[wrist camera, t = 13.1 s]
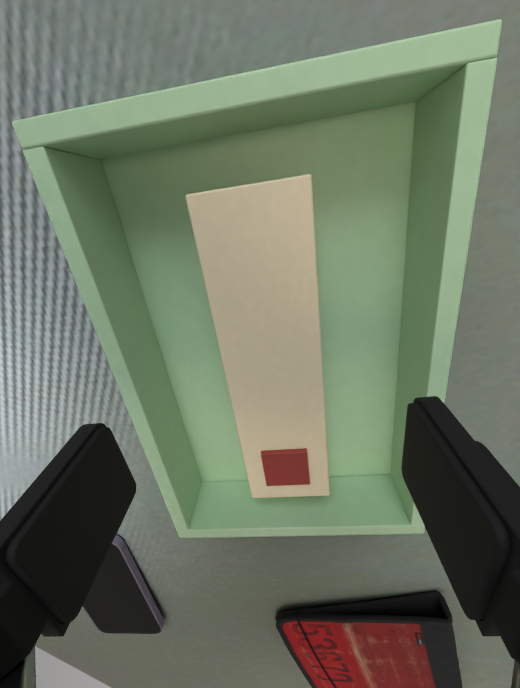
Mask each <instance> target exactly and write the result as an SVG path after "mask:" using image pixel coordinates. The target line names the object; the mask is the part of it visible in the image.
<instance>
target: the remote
mask: <svg viewBox="0 0 520 688" xmlns="http://www.w3.org/2000/svg"><path fill="white" fill-rule="evenodd" d="M185 198H186V202H187V207H188V211H189V216H190V220H191V225H192V229H193V234H194V238H195V243H196V247H197V252H198V256H199V261H200V265H201V270H202V274H203V279H204V283H205V288H206V292H207V297H208V301H209V306H210V310H211V315H212V319H213V324H214V328H215V333H216V337H217V342H218V346H219V351H220V356H221V360H222V365H223V369H224V374H225V378H226V383H227V387H228V392H229V396H230V401H231V405H232V410H233V414H234V419H235V423H236V428H237V432H238V437H239V441H240V446H241V450H242V455H243V459H244V464H245V468H246V473H247V477H248V482H249V486H250V491H251V495H252V498H272V497H301V496H329V495H330V486H329V468H328V451H327V434H326V416H325V399H324V381H323V364H322V347H321V329H320V312H319V294H318V277H317V260H316V242H315V225H314V207H313V190H312V176H311V175H310V174H307V175H301V176H295V177H289V178H283V179H277V180H271V181H264V182H258V183H252V184H246V185H240V186H234V187H228V188H222V189H216V190H210V191H204V192H198V193H192V194H187V195H186V197H185Z"/></svg>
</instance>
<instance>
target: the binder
mask: <svg viewBox="0 0 520 688" xmlns="http://www.w3.org/2000/svg"><path fill="white" fill-rule="evenodd" d="M276 621H277V622H276V626H277V629H278V631H279V633H280V635H281V637H282V639H283V641H284V643H285V645H286V647H287V648H288V650H289V652H290V654H291V655H292V657H293V659H294V660H295V662H296V663H297V665H298V666H299V668H300V670H301V671H302V673H303V674H304V676H305V677H306V679H307V680H308V682H309V684H310V685H311V686H312V688H462V681H461V675H460V669H459V662H458V657H457V652H456V643H455V637H454V631H453V626H452V621H453V620H452V615H451V612H450V610H449V608H448V606H447V603H446V601H445V599H444V597H443V596H442V594H441V593H440V592H438V591H433V592H425V593H419V594H414V595H409V596H403V597H396V598H388V599H380V600H374V601H365V602H357V603H350V604H342V605H334V606H326V607H318V608H303V609H300V608H297V609H296V610H290V611H283V612H280V613H278V614H277V615H276Z"/></svg>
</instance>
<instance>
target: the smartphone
mask: <svg viewBox="0 0 520 688" xmlns="http://www.w3.org/2000/svg"><path fill="white" fill-rule="evenodd" d="M82 606H83V607H84V609H85V610H86V612H87V613H88V615H89V616H90V618H91V619H92V621H93V622H94V624H95V625H96V627H97V628H98V629H99V630H100V631H102V632H105V633H112V634H158V633H160V632H161V631H162V628H163V625H164V619H163V617H162V615H161V613H160V611H159V609H158V608H157V606H156V604H155V602H154V600H153V598H152V596H151V594H150V592H149V590H148V588H147V586H146V584H145V582H144V580H143V578H142V576H141V574H140V572H139V570H138V568H137V566H136V564H135V562H134V560H133V558H132V556H131V554H130V552H129V550H128V548H127V546H126V544H125V542H124V540H123V539H122V538H121V537H119V536H118V535H116V536H115V538H114V540H113V542H112V544H111V546H110V548H109V550H108V553H107V555H106V557H105V559H104V561H103V563H102V565H101V567H100V569H99V572H98V574H97V576H96V578H95V580H94V582H93V584H92V586H91V588H90V591H89V593H88V595H87V597H86V599H85V601H84V603H83V605H82Z"/></svg>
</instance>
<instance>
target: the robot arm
mask: <svg viewBox="0 0 520 688" xmlns="http://www.w3.org/2000/svg"><path fill="white" fill-rule="evenodd" d="M401 470H402V476H403V479H404V482H405V484H406V486H407V488H408V490H409V493H410V495H411V497H412V499H413V501H414V504H415V506H416V508H417V510H418V512H419V515H420V517H421V519H422V521H423V523H424V526H425V528H426V530H427V532H428V534H429V537H430V539H431V541H432V543H433V545H434V548H435V550H436V552H437V554H438V556H439V559H440V561H441V563H442V565H443V567H444V570H445V572H446V574H447V576H448V578H449V581H450V583H451V585H452V587H453V589H454V592H455V594H456V596H457V598H458V600H459V603H460V605H461V607H462V609H463V611H464V613H465V614H466V616H467V617H468V618H469V619H471V620H475V621H476V623H477V625H478V627H479V629H480V631H481V633H482V635H483V636H501V638H502V640H503V642H504V644H505V646H506V648H507V650H508V652H509V654H510V656H511V657H512V658H513V659H515V663H514V670H513V678H512V686H511V688H520V487H519V486H518V485H517V483H516V482H515V481H514V480H513V479H512V478H511V476H510V475H509V474H508V473H507V472H506V470H505V469H504V468H503V467H502V466H501V464H500V463H499V462H498V461H497V460H496V459H495V457H494V456H493V455H492V454H491V453H490V451H489V450H488V449H487V448H486V447H485V446H484V445H483V444H482V443H480V442H478V441H474V440H473V438H472V437H471V436H470V435H469V434H468V432H467V431H466V430H465V429H464V427H463V426H462V425H461V424H460V423H459V421H458V420H457V419H456V418H455V416H454V415H453V414H452V413H451V412H450V410H449V409H448V408H447V407H446V405H445V404H444V403H443V402H442V401H441V399H440V398H439V397H437V396H430V397H418V398H415V399H414V401H413V403H409V404H408V406H407V415H406V425H405V436H404V446H403V456H402V466H401ZM135 493H136V483H135V480H134V478H133V476H132V474H131V472H130V470H129V468H128V465H127V463H126V461H125V459H124V457H123V455H122V453H121V451H120V448H119V446H118V444H117V442H116V440H115V438H114V436H113V434H112V431H111V430H110V428H108V427H106V426H105V425H104V424H103V423H97V424H85V425H82V426H81V427H80V428H79V429H78V430H77V431H76V433H75V434H74V435H73V436H72V437H71V439H70V440H69V441H68V442H67V443H66V444H65V446H64V447H63V448H62V449H61V450H60V451H59V453H58V454H57V455H56V456H55V457H54V459H53V460H52V461H51V462H50V463H49V464H48V466H47V467H46V468H45V469H44V470H43V471H42V473H41V474H40V475H39V476H38V477H37V479H36V480H35V481H34V482H33V483H32V484H31V486H30V487H29V488H28V489H27V490H26V491H25V493H24V494H23V495H22V496H21V497H20V499H19V500H18V501H17V502H16V503H15V504H14V506H13V507H12V508H11V509H10V510H9V511H8V513H7V514H6V515H5V516H4V517H3V518H2V520H1V521H0V688H36V674H35V673H36V670H35V644H36V642H37V640H38V638H39V636H40V634H42V635H43V636H64V634H65V632H66V630H67V628H68V626H69V624H70V622H71V621H73V620H74V619H75V618H76V617H77V615H78V613H79V612H80V610H81V607H82V605H83V603H84V601H85V599H86V597H87V595H88V593H89V591H90V588H91V586H92V584H93V582H94V580H95V578H96V576H97V574H98V572H99V569H100V567H101V565H102V563H103V561H104V559H105V557H106V555H107V553H108V550H109V548H110V546H111V544H112V542H113V540H114V538H115V536H116V533H117V531H118V529H119V527H120V525H121V523H122V521H123V519H124V517H125V514H126V512H127V510H128V508H129V506H130V504H131V502H132V500H133V498H134V495H135Z"/></svg>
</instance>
